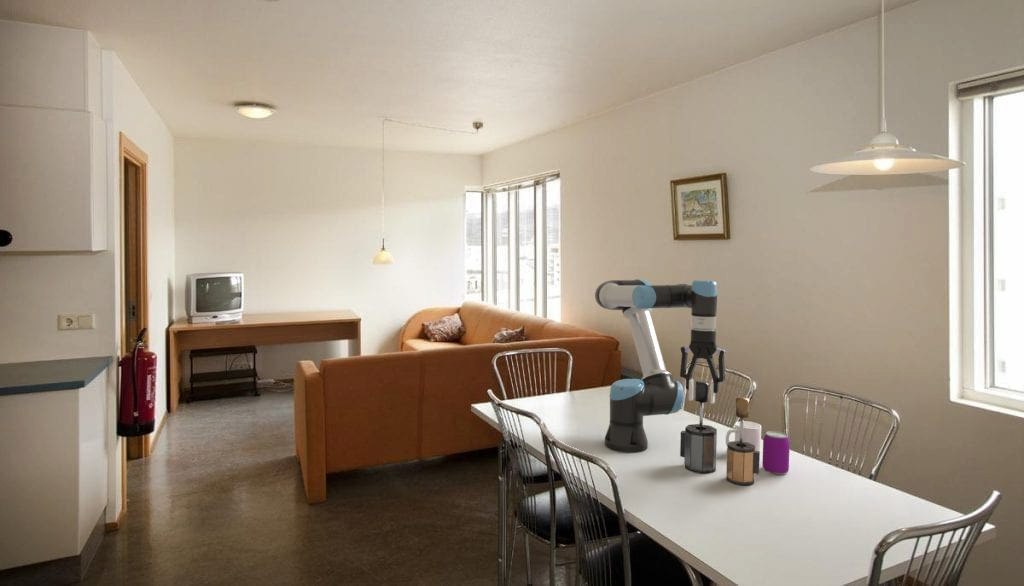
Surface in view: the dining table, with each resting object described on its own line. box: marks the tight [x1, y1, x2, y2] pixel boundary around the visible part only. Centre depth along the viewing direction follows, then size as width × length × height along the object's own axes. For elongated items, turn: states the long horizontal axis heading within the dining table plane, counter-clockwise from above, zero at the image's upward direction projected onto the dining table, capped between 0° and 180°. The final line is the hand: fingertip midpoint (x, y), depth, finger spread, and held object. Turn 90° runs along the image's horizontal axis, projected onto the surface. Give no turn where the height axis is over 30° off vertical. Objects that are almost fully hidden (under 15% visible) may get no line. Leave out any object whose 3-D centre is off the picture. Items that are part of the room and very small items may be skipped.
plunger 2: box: [735, 396, 750, 447], centre depth 180 cm, size 5×5×18 cm
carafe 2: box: [725, 440, 761, 487], centre depth 180 cm, size 9×8×11 cm
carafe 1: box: [679, 423, 718, 475], centre depth 191 cm, size 11×10×13 cm
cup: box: [725, 420, 762, 453], centre depth 204 cm, size 8×12×10 cm
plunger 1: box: [694, 380, 710, 430], centre depth 190 cm, size 7×7×18 cm
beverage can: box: [761, 430, 791, 476], centre depth 188 cm, size 8×8×12 cm
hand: (701, 401), depth 190 cm, fingers open, 6 cm apart
